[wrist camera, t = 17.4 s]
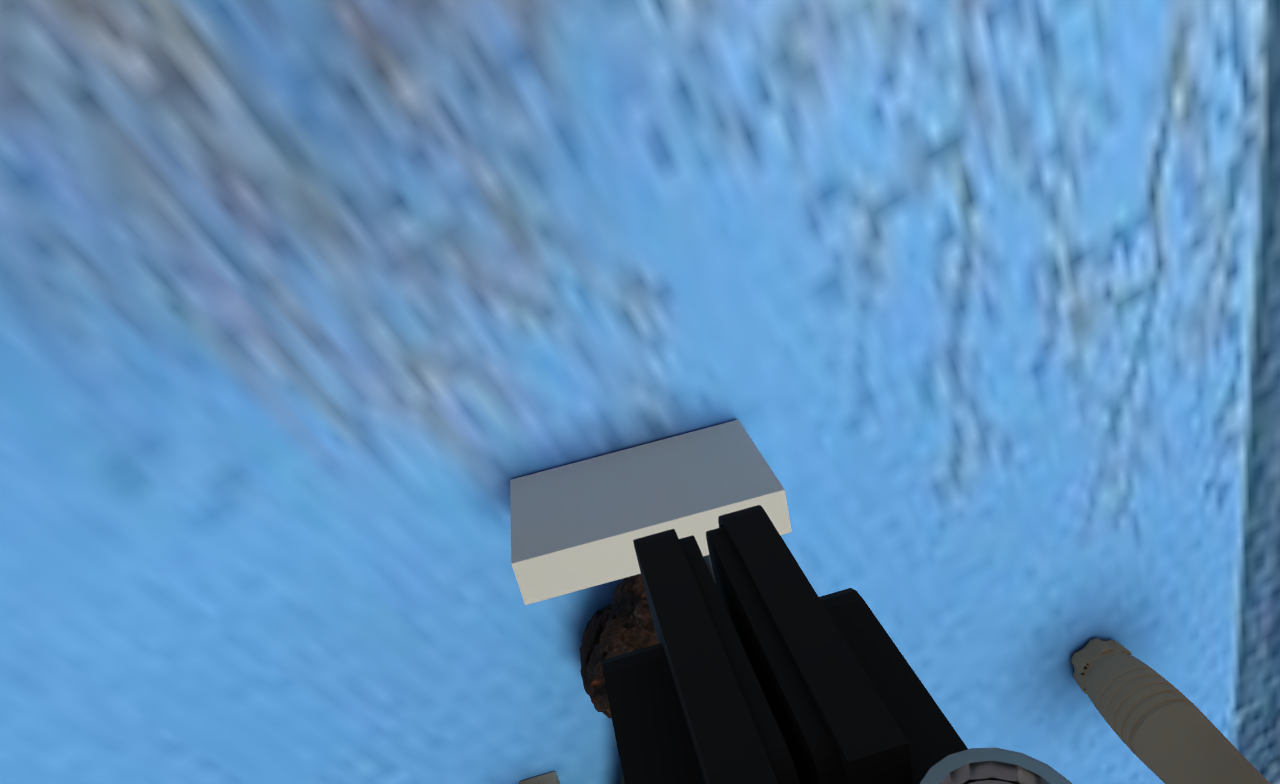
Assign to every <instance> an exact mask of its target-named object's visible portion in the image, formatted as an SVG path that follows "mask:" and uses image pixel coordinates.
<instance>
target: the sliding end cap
mask: <svg viewBox="0 0 1280 784" xmlns="http://www.w3.org/2000/svg"><path fill="white" fill-rule="evenodd" d="M757 505H761V506H762V507H763V509H764V510H765V512H766V513H767V515H768V517H769V518H770V520H771V521H772V523H773V525H774V526H775V528H776V529H777V531H778V533H779V534H780V535H783V534H787V533H790V532H792V531H791V525H790V519H789V513H788V507H787V501H786V495H785V490H784V488H783V487H782V485H781V484H780V482H779V480H778V479H777V477H776V476H775V474H774V473H773V471H772V470H771V468H770V467H769V465H768V464H767V462H766V461H765V459H764V458H763V456H762V455H761V453H760V452H759V450H758V449H757V447H756V446H755V444H754V443H753V441H752V440H751V438H750V437H749V435H748V434H747V432H746V431H745V429H744V428H743V426H742V425H741V423H740V421H739V420H735V421H731V422H727V423H723V424H719V425H716V426H712V427H708V428H704V429H700V430H697V431H693V432H689V433H685V434H682V435H678V436H674V437H670V438H666V439H663V440H659V441H655V442H651V443H648V444H644V445H640V446H636V447H632V448H629V449H625V450H621V451H617V452H614V453H610V454H606V455H602V456H598V457H595V458H591V459H587V460H583V461H579V462H576V463H572V464H568V465H564V466H561V467H557V468H553V469H549V470H545V471H542V472H538V473H534V474H530V475H527V476H523V477H519V478H515V479H511V480H510V506H511V562H512V567H513V570H514V573H515V576H516V579H517V582H518V585H519V588H520V591H521V594H522V597H523V600H524V603H525V605H528V604H531V603H535V602H538V601H542V600H546V599H549V598H553V597H557V596H560V595H564V594H568V593H571V592H575V591H579V590H582V589H586V588H590V587H593V586H597V585H601V584H604V583H608V582H611V581H615V580H619V579H622V578H626V577H630V576H633V575H637V574H641V572H640V568H639V564H638V560H637V556H636V552H635V548H634V543H633V540H634V539H638V538H642V537H645V536H649V535H652V534H656V533H660V532H663V531H667V530H670V529H675V531H676V533H677V536H678V538H679V539H681V538H685V537H688V536H692V535H693V536H694V537H695V539H696V541H697V543H698V546H699V548H700V550H701V552H702V555H703V557H704V559H705V562H706V564H707V566H708V568H709V571H710V573H711V575H712V577H713V580H714V582H715V579H714V574H713V569H712V564H711V560H710V555H709V550H708V545H707V540H706V531H710V530H713V529H717V528H719V523H718V517H719V516H721V515H724V514H728V513H731V512H735V511H739V510H742V509H746V508H749V507H753V506H757Z"/></svg>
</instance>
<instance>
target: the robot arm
mask: <svg viewBox="0 0 1280 784" xmlns="http://www.w3.org/2000/svg"><path fill="white" fill-rule="evenodd" d="M718 523H719V528H717V529H713V530H710V531H706V540H707V545H708V550H709V555H710V560H711V564H712V569H713V574H714V579H715V582H714V580H713V577H712V575H711V573H710V571H709V568H708V566H707V564H706V562H705V559H704V557H703V555H702V552H701V550H700V548H699V546H698V543H697V541H696V539H695V537H694V536H693V535H692V536H688V537H685V538H681V539H679V538H678V536H677V533H676V531H675V529H670V530H667V531H663V532H660V533H656V534H652V535H649V536H645V537H642V538H638V539H634V540H633V543H634V548H635V552H636V556H637V560H638V564H639V568H640V572H641V576H642V580H643V584H644V588H645V592H646V596H647V600H648V604H649V608H650V612H651V616H652V620H653V624H654V628H655V632H656V636H657V640H658V644H656V645H652V646H649V647H645V648H642V649H638V650H635V651H631V652H628V653H624V654H621V655H618V656H614V657H611V658H607V659H604V660H601V664H602V670H603V675H604V680H605V685H606V690H607V696H608V701H609V706H610V711H611V716H612V721H613V726H614V731H615V736H616V741H617V746H618V751H619V756H620V761H621V766H622V771H623V776H624V781H625V784H1072V783H1071V782H1070V781H1069V780H1067V779H1066V778H1065V777H1063V776H1062V775H1061V774H1060V773H1058V772H1057V771H1056V770H1054V769H1053V768H1052V767H1050V766H1049V765H1048V764H1045V763H1043V762H1041V761H1039V760H1037V759H1034V758H1032V757H1030V756H1028V755H1025V754H1023V753H1019V752H1014V751H1010V750H1005V749H1000V748H971V749H968V748H967V747H966V746H965V744H964V743H963V741H962V740H961V738H960V737H959V736H958V734H957V733H956V731H955V730H954V728H953V727H952V726H951V724H950V723H949V721H948V720H947V718H946V717H945V716H944V714H943V713H942V711H941V710H940V708H939V707H938V705H937V704H936V703H935V701H934V700H933V698H932V697H931V695H930V694H929V693H928V691H927V690H926V688H925V687H924V685H923V684H922V683H921V681H920V680H919V678H918V677H917V675H916V674H915V673H914V671H913V670H912V668H911V667H910V665H909V664H908V663H907V661H906V660H905V658H904V657H903V655H902V654H901V653H900V651H899V650H898V648H897V647H896V645H895V644H894V643H893V641H892V640H891V638H890V637H889V635H888V634H887V633H886V631H885V630H884V628H883V627H882V625H881V624H880V623H879V621H878V620H877V618H876V617H875V615H874V614H873V613H872V611H871V610H870V608H869V607H868V605H867V604H866V602H865V601H864V600H863V598H862V597H861V596H860V595H859V594H858V592H857V591H856V590H854V589H852V588H849V589H845V590H842V591H839V592H835V593H832V594H828V595H825V596H821V597H818V596H817V594H816V592H815V591H814V589H813V588H812V586H811V584H810V583H809V581H808V579H807V578H806V576H805V575H804V573H803V571H802V570H801V568H800V567H799V565H798V563H797V562H796V560H795V558H794V557H793V555H792V554H791V552H790V550H789V549H788V547H787V546H786V544H785V542H784V541H783V539H782V537H781V536H780V534H779V533H778V531H777V529H776V528H775V526H774V525H773V523H772V521H771V520H770V518H769V517H768V515H767V513H766V512H765V510H764V509H763V507H762V506H761V505H757V506H753V507H749V508H746V509H742V510H739V511H735V512H731V513H728V514H724V515H721V516H719V517H718Z"/></svg>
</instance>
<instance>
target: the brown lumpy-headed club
mask: <svg viewBox="0 0 1280 784" xmlns="http://www.w3.org/2000/svg"><path fill="white" fill-rule="evenodd" d="M656 644H658V640H657V636H656V632H655V628H654V624H653V620H652V616H651V612H650V608H649V604H648V600H647V596H646V592H645V588H644V584H643V580H642V576H641V574H637V575H633V576H630V577H626V578H625V579H624V580H623V581H622V582H621V583H620V584H619V585H618V586H617V587H616V589H615V591H614V597H613V599H612V604H611V605H610V606H608V607H606V608H604V609H603V610H597V612H596V613H595V614H594V616H593V617H592V618H591V620H590V621H589V623H588V624H587V626H586V628H585V631H584V634H583V638H582V646H581V648H580V652H581V676H582V679H583V685H584V689H585V691H586V693H587V694H588V695H589V696H590V698H591V702H592V703H593V704H594V707H595V709H596V710H597V711H598V712H603V713H604V714H605V715H606V716H607V717H608V718H612V716H611V711H610V706H609V701H608V696H607V690H606V685H605V680H604V675H603V670H602V664H601V660H604V659H607V658H611V657H614V656H618V655H621V654H624V653H628V652H631V651H635V650H638V649H642V648H645V647H649V646H652V645H656ZM622 772H623V771H622ZM621 784H625V781H624V776H623V775H622V782H621Z"/></svg>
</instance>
